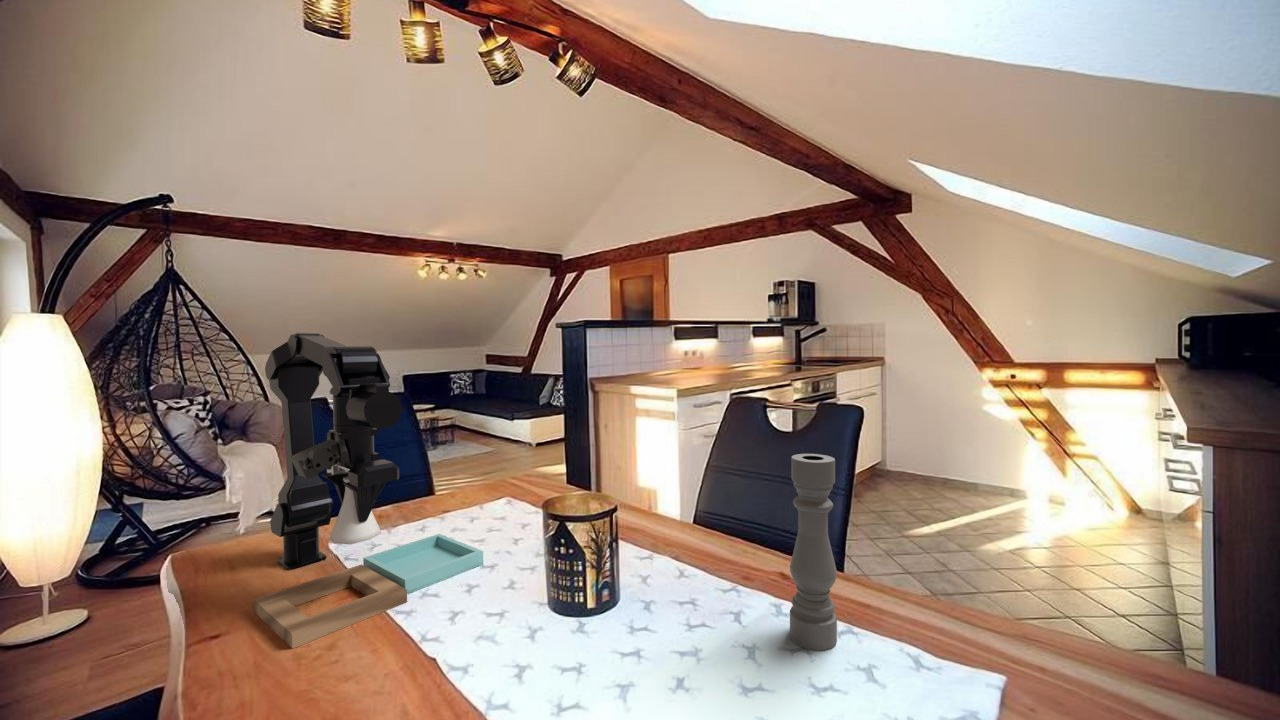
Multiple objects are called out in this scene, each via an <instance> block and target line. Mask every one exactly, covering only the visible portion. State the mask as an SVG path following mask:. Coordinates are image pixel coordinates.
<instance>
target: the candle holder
mask: <svg viewBox="0 0 1280 720" xmlns="http://www.w3.org/2000/svg"><path fill="white" fill-rule="evenodd" d="M790 461H791V467H790V471H791V473H790V474H791V475H790V476H791V479H790V480H792V482H793V483H792V485H793V486H794V488H795V491H796V493H797V494H798V495H797V496H796V497H795V498H794V499H793V500H792V503H793V506H794V508H796V510H797V511H798V515H797V517H798V518H797V520H798V521H797V524H798V525H797V526H798V527H797V528H798V529H797V535H796V539H795V542H794V548H793V553H792V557H791V560H790V564H789V572H790V575H791V578H792V579H793V582H794V583H795V587H796V590H797V591H796V592H795V594H794V595H793V596H792V598H791V604H792V606H791V608H790V610H789V636H790V639H791V641H793V642H794V643H795V644H796V645H798V646H800V647H802V648H804V649H807V650H811V651H819V652H820V651H827V650H832V649H833V648H835V647H836V645H837V643H838V616H837V615H836V613H835V609H836V606H835V603H834V601H833V600H832V598H831V596H829V595H830V593H831V589H832V588H833V586H834V584H835V583H836V580H837V576H838V574H837V572H838V571H837V566H836V562H835V557H834V554H833V550H832V545H831V541H830V537H829V520H828V519H829V513H830V511H832V510H833V509H834V503H833V502H832V500H831V499H830V498H828V497H829V496H830V494H831V491H832V490H833V489H834V486H833V485H834V484H835V483H836V459H835V458H834V457H833V456H829V455H825V454H819V453H799V454H798V453H796V454H794V455H792V456H791V459H790Z"/></svg>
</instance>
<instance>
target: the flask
mask: <svg viewBox="0 0 1280 720" xmlns="http://www.w3.org/2000/svg"><path fill="white" fill-rule="evenodd" d="M343 481H344V482H345V483H347V482H350V481H349V479H348V476H347V477H344V478H343ZM372 510H373V509H372ZM372 510H371V513H370V515H369V517H368V519H367V521H365V522H361V523H360V522H359V521H358V517H357V512H356V506H355V500H354V495H353V491H352V490H350V489H349V488H348V487H346V486H345V495H344V500H343V503H342V504H341V507H340V509H339V513H338V515H337V518H336V521H335V523H334V525H333V528H332V529H331V533H330V535H329V540H330V541H331V542H332V543H333V544H335V545H336V544H337V545H354V544H359V543H362V542H366V541H370V540H372V539H373V538H376V537H377V536H380V535H382V531H381V529H380V526H379V524H378V522H377V520H376V517H375V515H374V513H373V511H372Z"/></svg>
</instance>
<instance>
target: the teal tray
mask: <svg viewBox="0 0 1280 720" xmlns="http://www.w3.org/2000/svg"><path fill="white" fill-rule="evenodd" d="M362 559H363V560H362V561H363V564H362V565H363V566H365V567H367V568H369V569H371V570H372V571H374V572H376V573H378V574H380V575H381V576H383V577H385V578H387V579H389V580H390V581H392V582H394V583H396V584H398V585H399V586H401V587H403V588H405V589H407V595H408V594H412V593H414V592H417V591H420V590H422V589H424V588H426V587H427V588H428V587H429V586H432V585H434V584H437V583H440V582H443V581H444V580H447V579H450V578H452V577H455V576H457V575H460V574H462V573H465V572H467V571H470V570H472V569H475V568H478V567H480V566H482V565H484V551H483V550H482V549H480V548H476V547H474V546H471V545H468V544H466V543H465V542H461V541H459V540H456V539H454V538H452V537H448V536H447V535H443V534H441V533H438V534H434V535H430V536H428V537H425V538H422V539H421V538H420V539H418V540H415V541H412V542H409V543H405V544H402V545H399V546H397V547H393V548H390V549H386V550H384V551H380V552H377V553H374V554H371V555H368V556H365V557H363V558H362Z"/></svg>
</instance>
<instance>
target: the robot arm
mask: <svg viewBox="0 0 1280 720" xmlns="http://www.w3.org/2000/svg"><path fill="white" fill-rule="evenodd" d="M264 372H265V376H266V379H267V380H268V381H269V383H268V384H269V388H270V391H272V393H274V395H275V397H277V399H278V400H279V401H280V402H281V412H282V424H283V437H284V450H285V463H286V476H287V477H286V480H285V481H284V483H283V485H282V487H281V489H280V490H279V492H278V494H277V496H278V497H277V499H278V500H277V502H278V503H277V504H276V507H275V509H274V511H273V513H272V516H271V518H270V523H269V524H270V529H271V533H272V534H273V535H276V536H277V537H278V538H283V539H282V541H283V556H282V557H279V558H276V562H277V563H279V565H281V566H282V567H284V568H286V569H287V570H293V569H296V568H299V567H303V566H307V565H309V564H313V563H315V562H319V561H323V560H326V559H327V556H328V555H327V554H324V553H323V552H321V551H320V527H324V526H329V525H331V520H332V513H333V504H334V500H333V499H332V497H331V495H330V486H329V484H328V483H327V482H326V481H323V479H321V478H320V476H319V474H320V473H322V472H324V471H326V472H325V473H322V474H321V476H322V477H324V478H325V479H327V480H328V481H330V482H331V483H333V485H334V487H335V490H336V492H337V495H338V498H339V501H340V505H342V503H343V500H344V495H345V486H346V487H348V488H349V489H350V490H352V491H353V495H354V500H355V506H356V512H357V517H358V521H359V522H360V523H361V522H365V521H367V519H368V517H369V515H370V513H371V510H373V508H374V506H375V504H376V502H377V500H378V498H379V496H380V494H381V493H382V491H383V489H384V487H385V485H386V483H390V482H394V481H398V480H399V479H400V466H398V465H397V464H396V463H395V462H394V461H390V460H387V459H384V458H383V459H380V453H378V452H375V437H374V436H379V432H380V431H379V430H386V429H389V428H391V427H393V426H395V425H396V424H397V423H398V422H399V420H400V419H401V416H402V414H403V404H402V402H401V400H400V398H399V397H398V396H397V395H396V394H395V393H393V392H391V391H390V389H389V388H390V387H391V382H390V375H389V373H388V371H387V369H386V367H385V365H384V364H383V361H382V359H381V356H380V354H379V353H378V351H377V350H376V348H375V347H373V346H372V345H371V346H370V345H362V346H361V345H356V346H355V345H349V346H348V345H345V344H342V343H340V342H339V341H338V342H337V341H335V340H332V339H330V338H328V337H325V335H323V334H320V333H319V332H318V333H317V332H316V333H313V332H311V333H307V332H306V333H304V332H296V333H294V334H290V336H289V337H288V339H287V341H286V342H284V343H283V344H281V345H279V346H278V347H276V348H274V349H273V350H272V351H271V352H270V354H269V356H268V358H267V360H266V363H265V368H264ZM322 374H323V375H324V376H325V377H326V378H327V380H328V381H329V383H330V384H331V386H332V387H331V388H330V390H329V394H330V395H333V396H332V414H333V415H332V421H333V422H332V423H333V429H329V430H328V432H327V433H326V440H325V441H323V442H320V443H317V444H315V435H314V426H313V425H314V424H313V411H312V397H313V396H314V394H315V392H316V391H317V389H318V387H319V386H320V376H321V375H322ZM347 476H348V479H349V481H350V482H347V483H345V482H344V481H343V478H344V477H347Z"/></svg>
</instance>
